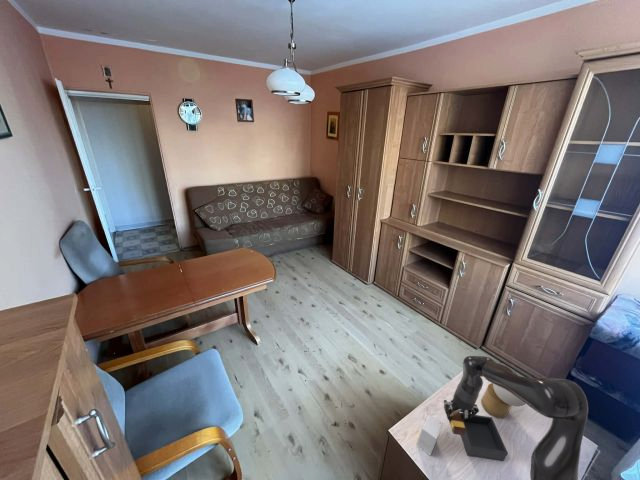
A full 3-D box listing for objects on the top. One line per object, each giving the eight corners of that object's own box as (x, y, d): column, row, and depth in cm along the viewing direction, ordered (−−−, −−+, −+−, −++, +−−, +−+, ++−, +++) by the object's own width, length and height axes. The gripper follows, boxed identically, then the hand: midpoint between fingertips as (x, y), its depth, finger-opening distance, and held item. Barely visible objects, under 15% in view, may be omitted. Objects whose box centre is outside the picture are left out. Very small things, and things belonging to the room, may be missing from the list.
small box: (421, 430, 120) (428, 413, 115) (436, 440, 117) (443, 423, 111) (415, 445, 115) (421, 428, 109) (430, 457, 111) (437, 439, 105)
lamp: (522, 423, 125) (544, 389, 114) (498, 430, 122) (518, 396, 111) (495, 393, 138) (513, 360, 127) (473, 399, 135) (489, 365, 124)
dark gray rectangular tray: (503, 461, 111) (508, 453, 108) (467, 455, 112) (471, 447, 110) (487, 424, 124) (491, 417, 121) (455, 420, 125) (459, 412, 123)
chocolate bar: (464, 435, 110) (466, 431, 108) (452, 433, 110) (454, 429, 109) (455, 411, 119) (457, 407, 117) (445, 410, 119) (447, 405, 118)
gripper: (451, 400, 104) (440, 426, 111) (488, 406, 103) (475, 431, 110) (445, 383, 111) (435, 408, 118) (480, 388, 109) (468, 413, 117)
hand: (455, 419), depth 114 cm, fingers closed on chocolate bar, 4 cm apart
